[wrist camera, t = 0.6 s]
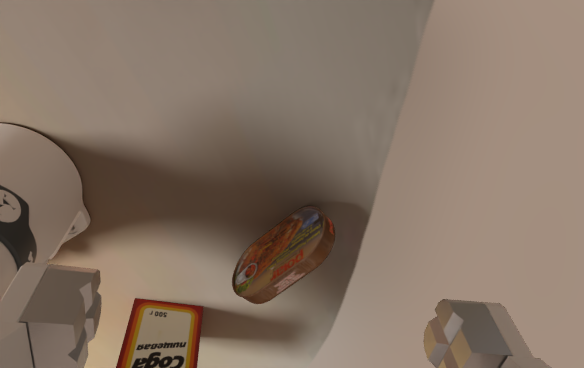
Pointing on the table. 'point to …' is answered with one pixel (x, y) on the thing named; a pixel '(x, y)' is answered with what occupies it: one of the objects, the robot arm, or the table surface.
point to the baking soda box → (161, 335)
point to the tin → (284, 255)
